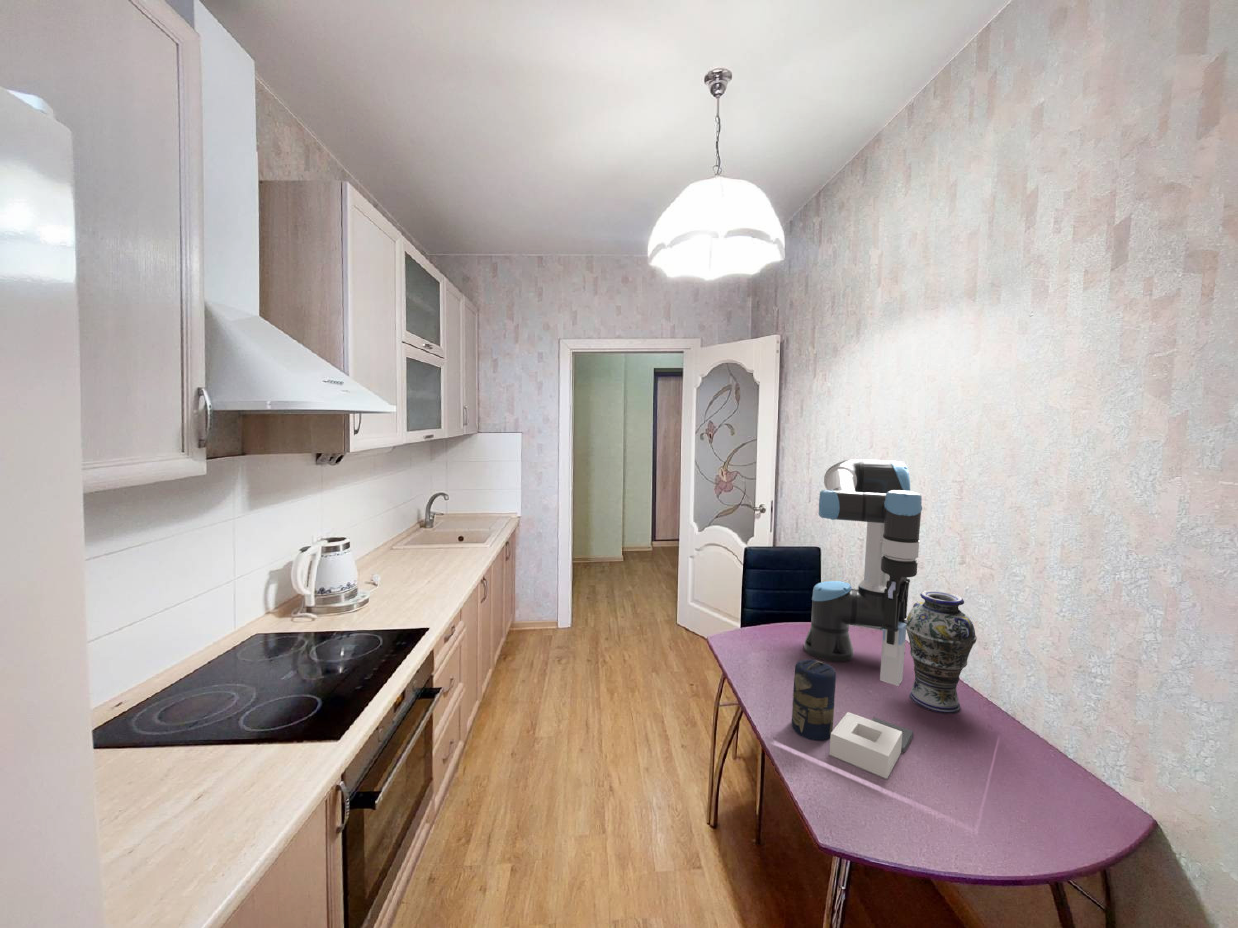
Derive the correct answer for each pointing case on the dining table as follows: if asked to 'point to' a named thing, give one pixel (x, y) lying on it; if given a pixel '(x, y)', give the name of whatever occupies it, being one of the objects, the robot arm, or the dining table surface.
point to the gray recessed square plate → (906, 733)
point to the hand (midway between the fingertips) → (893, 652)
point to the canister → (813, 699)
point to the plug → (894, 659)
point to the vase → (938, 649)
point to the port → (866, 744)
